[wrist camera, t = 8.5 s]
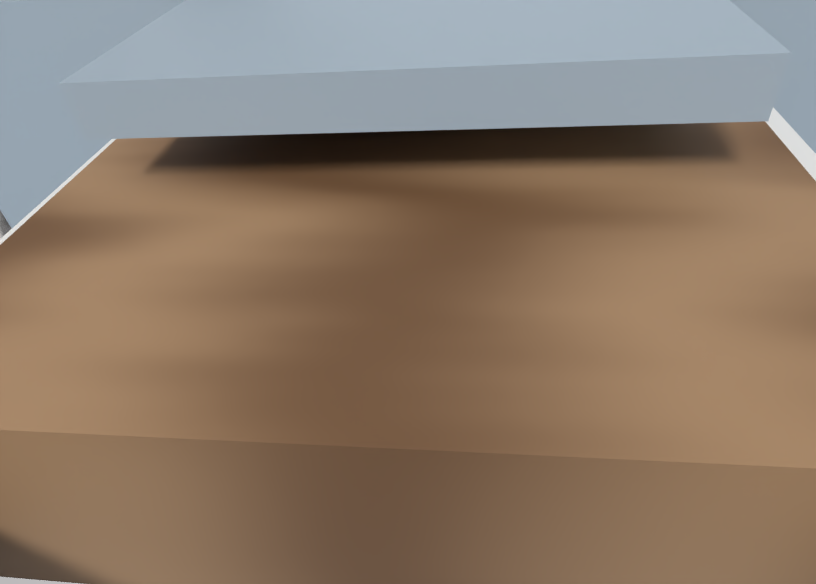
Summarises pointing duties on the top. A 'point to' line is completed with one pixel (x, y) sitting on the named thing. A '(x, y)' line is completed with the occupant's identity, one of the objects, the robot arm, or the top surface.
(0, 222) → the top surface
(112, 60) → the picture ledge
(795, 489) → the walnut frame
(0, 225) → the top surface
